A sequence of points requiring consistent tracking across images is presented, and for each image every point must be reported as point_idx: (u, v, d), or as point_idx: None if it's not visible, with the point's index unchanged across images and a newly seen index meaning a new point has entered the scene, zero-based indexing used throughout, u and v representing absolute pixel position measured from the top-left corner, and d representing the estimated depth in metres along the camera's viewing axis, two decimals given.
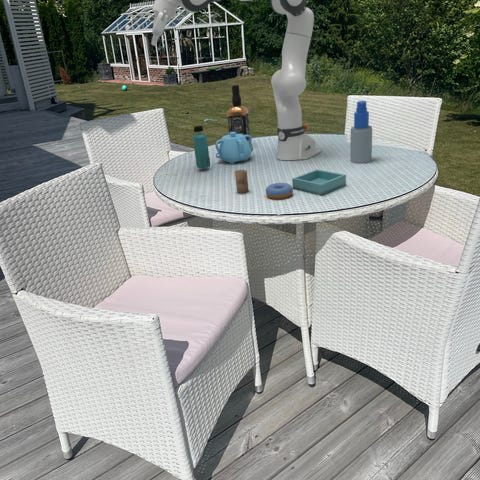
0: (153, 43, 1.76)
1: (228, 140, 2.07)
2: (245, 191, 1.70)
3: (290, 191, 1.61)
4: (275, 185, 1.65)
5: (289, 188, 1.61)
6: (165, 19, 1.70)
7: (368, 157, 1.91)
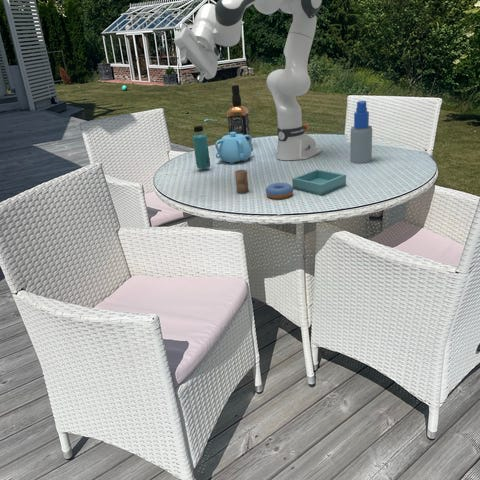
0: (181, 59, 1.56)
1: (228, 140, 2.07)
2: (245, 191, 1.70)
3: (290, 191, 1.61)
4: (275, 185, 1.65)
5: (289, 188, 1.61)
6: (184, 28, 1.56)
7: (368, 157, 1.91)
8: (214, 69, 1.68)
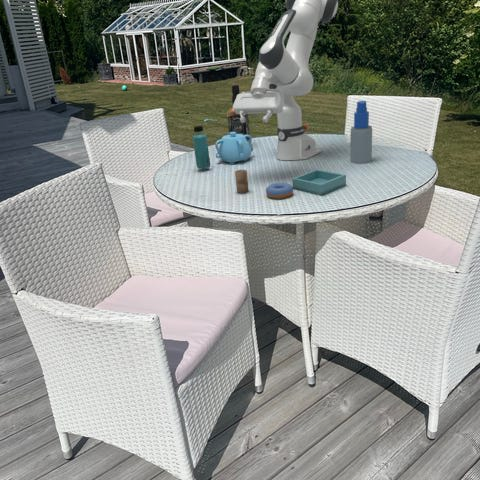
0: None
1: (228, 140, 2.07)
2: (245, 191, 1.70)
3: (290, 191, 1.61)
4: (275, 185, 1.65)
5: (289, 188, 1.61)
6: None
7: (368, 157, 1.91)
8: (277, 101, 1.69)
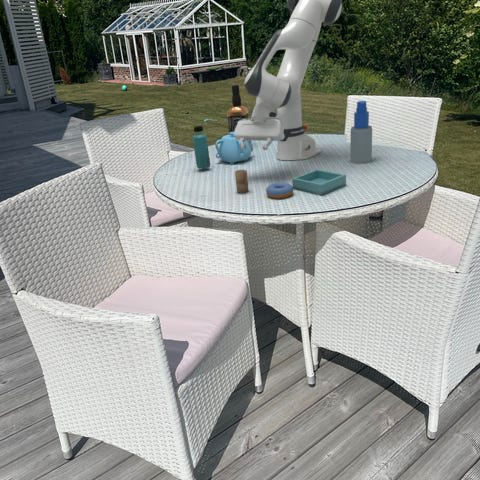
0: None
1: (228, 140, 2.07)
2: (245, 191, 1.70)
3: (290, 191, 1.61)
4: (275, 185, 1.65)
5: (289, 188, 1.61)
6: None
7: (368, 157, 1.91)
8: (276, 129, 1.72)
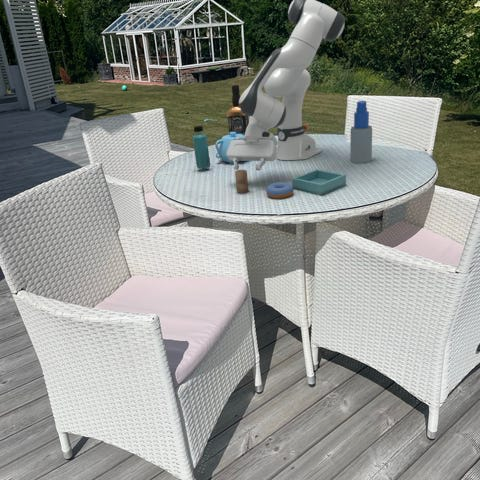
0: None
1: (228, 140, 2.07)
2: (245, 191, 1.70)
3: (291, 191, 1.61)
4: (276, 185, 1.65)
5: (290, 188, 1.61)
6: None
7: (368, 157, 1.91)
8: (270, 149, 1.68)
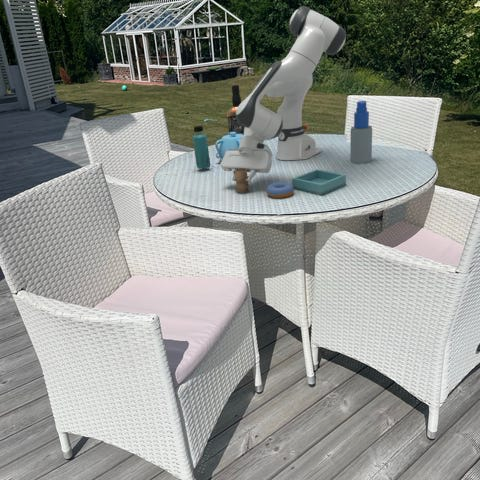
0: None
1: (228, 140, 2.07)
2: (245, 191, 1.70)
3: (291, 190, 1.61)
4: (276, 184, 1.66)
5: (290, 187, 1.61)
6: None
7: (368, 157, 1.91)
8: (264, 161, 1.67)
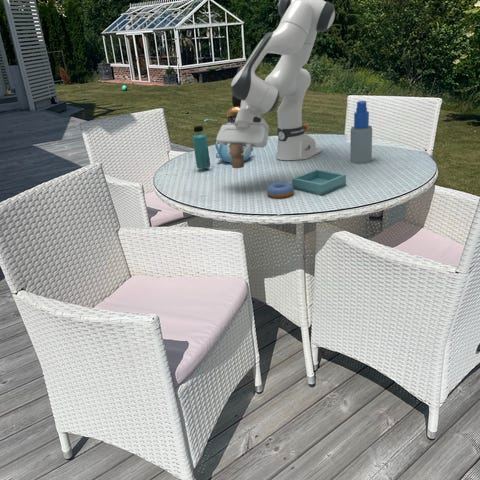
0: None
1: None
2: (240, 166, 1.67)
3: (291, 190, 1.61)
4: (276, 184, 1.66)
5: (290, 187, 1.61)
6: None
7: (368, 157, 1.91)
8: (260, 135, 1.63)
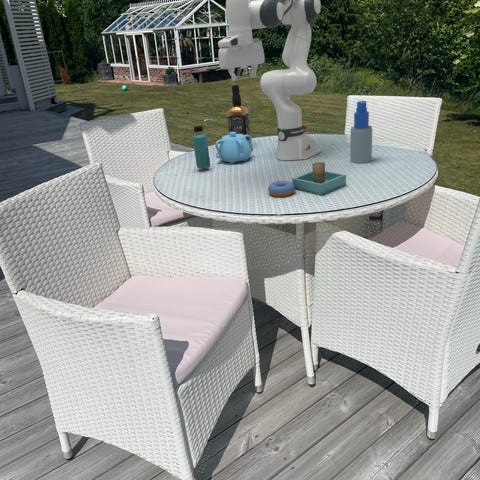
0: None
1: (228, 140, 2.07)
2: None
3: (292, 189, 1.63)
4: (277, 183, 1.67)
5: (291, 186, 1.63)
6: None
7: (368, 157, 1.91)
8: None
